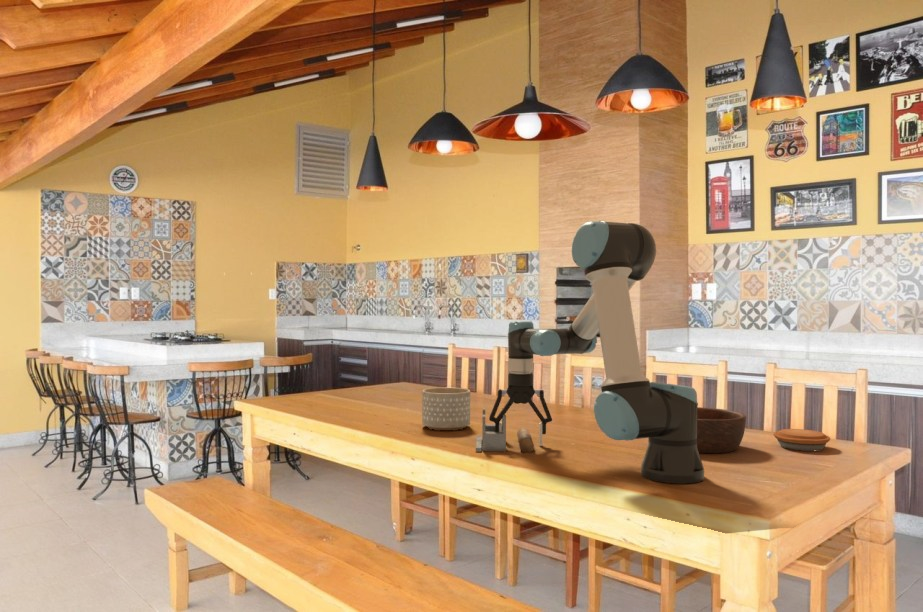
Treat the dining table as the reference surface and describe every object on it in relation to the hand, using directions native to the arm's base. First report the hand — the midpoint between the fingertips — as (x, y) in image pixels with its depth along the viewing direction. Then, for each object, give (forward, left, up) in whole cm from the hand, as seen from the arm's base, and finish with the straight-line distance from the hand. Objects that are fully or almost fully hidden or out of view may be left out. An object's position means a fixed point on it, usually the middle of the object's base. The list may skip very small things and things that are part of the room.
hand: (520, 444), depth 217 cm
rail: (0, 0, 0) cm, 0 cm away
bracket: (0, +8, 0) cm, 8 cm away
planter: (+30, +24, 0) cm, 38 cm away
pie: (+2, -84, -1) cm, 84 cm away
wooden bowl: (+1, -54, -1) cm, 54 cm away
